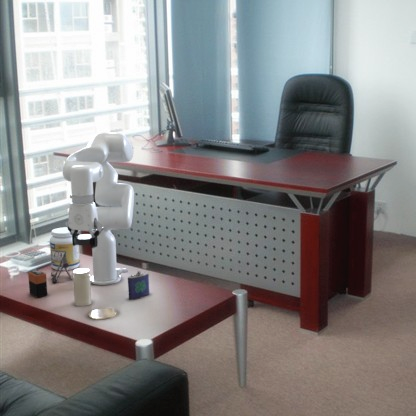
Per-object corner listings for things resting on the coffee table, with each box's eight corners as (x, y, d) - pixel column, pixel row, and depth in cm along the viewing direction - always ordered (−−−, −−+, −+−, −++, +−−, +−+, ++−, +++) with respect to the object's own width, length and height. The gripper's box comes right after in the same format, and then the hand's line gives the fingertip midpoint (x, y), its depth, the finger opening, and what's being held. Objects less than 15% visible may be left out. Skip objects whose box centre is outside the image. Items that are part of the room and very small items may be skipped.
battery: (37, 298, 260) (35, 273, 258) (29, 293, 265) (27, 269, 262) (48, 295, 263) (46, 271, 261) (39, 291, 268) (38, 267, 266)
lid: (79, 246, 243) (78, 240, 242) (71, 242, 248) (71, 236, 248) (98, 243, 247) (98, 237, 247) (90, 239, 253) (90, 233, 252)
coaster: (109, 307, 253) (109, 306, 253) (121, 315, 246) (121, 314, 245) (83, 313, 246) (83, 312, 246) (95, 321, 239) (95, 320, 239)
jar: (87, 299, 261) (85, 267, 258) (94, 303, 256) (92, 271, 253) (72, 302, 257) (70, 270, 254) (78, 307, 252) (76, 274, 249)
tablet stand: (50, 277, 284) (49, 258, 282) (70, 275, 287) (69, 256, 285) (52, 283, 276) (51, 264, 274) (72, 281, 279) (71, 262, 277)
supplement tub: (46, 270, 293) (43, 232, 289) (60, 261, 305) (57, 225, 301) (72, 272, 291) (69, 234, 287) (85, 263, 303) (83, 227, 299)
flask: (147, 293, 268) (146, 267, 266) (151, 294, 266) (150, 269, 264) (127, 298, 262) (126, 272, 259) (131, 300, 260) (130, 274, 257)
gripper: (56, 198, 243) (59, 245, 247) (96, 203, 238) (98, 251, 242) (69, 195, 250) (72, 240, 254) (109, 199, 245) (111, 246, 249)
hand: (85, 245), depth 248 cm, fingers closed on lid, 7 cm apart
